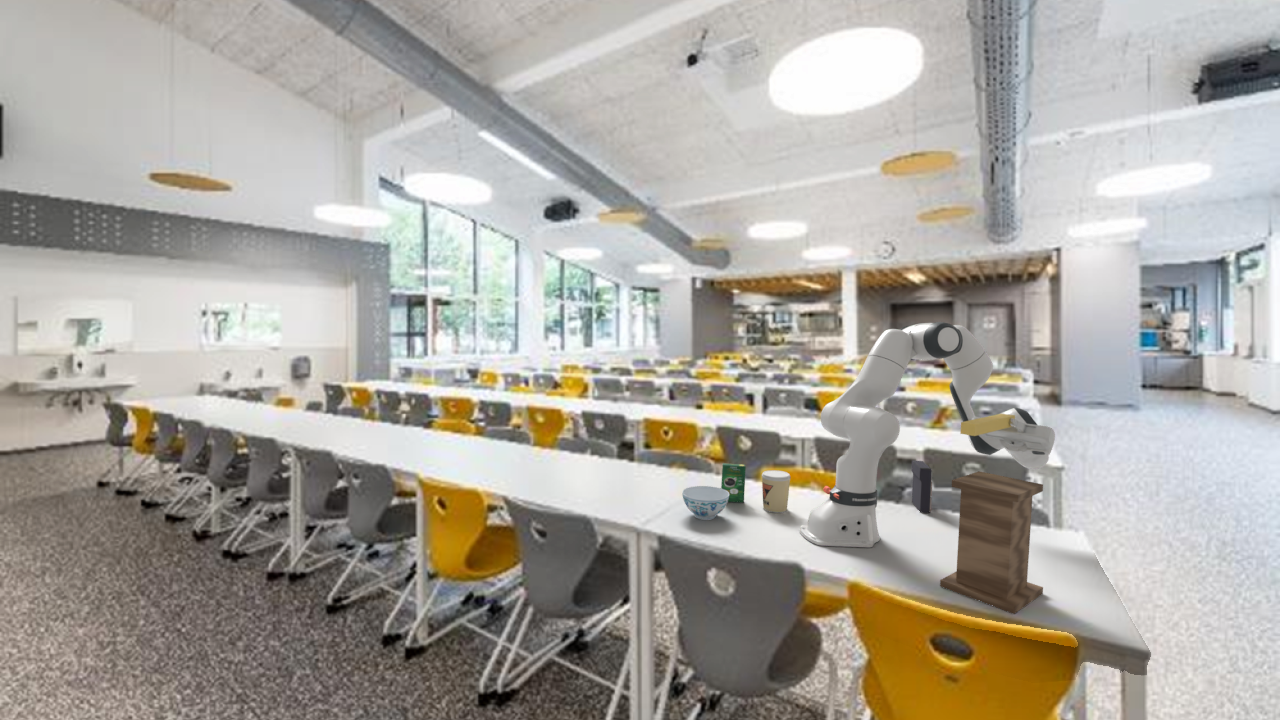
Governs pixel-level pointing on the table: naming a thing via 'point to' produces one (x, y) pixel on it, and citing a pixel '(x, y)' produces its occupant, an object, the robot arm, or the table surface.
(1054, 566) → the table surface
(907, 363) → the robot arm
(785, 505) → the coffee cup
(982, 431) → the mustard bar
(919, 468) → the dark grey upright block
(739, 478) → the coffee box
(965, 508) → the walnut stand
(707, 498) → the chinaware
